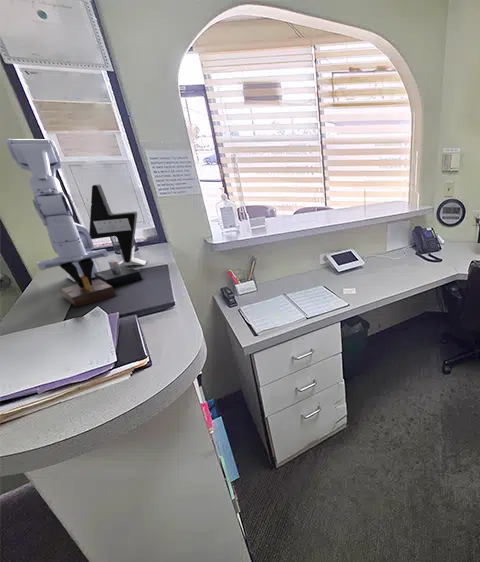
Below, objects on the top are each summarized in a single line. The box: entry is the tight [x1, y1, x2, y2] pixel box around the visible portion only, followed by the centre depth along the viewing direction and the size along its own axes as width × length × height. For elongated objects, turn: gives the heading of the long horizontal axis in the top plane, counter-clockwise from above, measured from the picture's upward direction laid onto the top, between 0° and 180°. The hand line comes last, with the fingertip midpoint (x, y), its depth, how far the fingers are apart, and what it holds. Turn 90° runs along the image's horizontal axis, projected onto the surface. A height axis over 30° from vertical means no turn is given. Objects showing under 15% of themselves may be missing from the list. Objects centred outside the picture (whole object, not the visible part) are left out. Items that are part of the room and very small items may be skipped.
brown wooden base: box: [60, 279, 117, 308], centre depth 91 cm, size 12×9×3 cm
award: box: [88, 183, 147, 267], centre depth 113 cm, size 15×5×30 cm, turn 117°
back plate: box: [94, 265, 143, 288], centre depth 103 cm, size 12×9×3 cm
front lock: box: [79, 274, 91, 290], centre depth 89 cm, size 5×1×4 cm, turn 55°
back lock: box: [108, 260, 121, 274], centre depth 102 cm, size 5×1×4 cm, turn 55°
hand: (85, 286), depth 90 cm, fingers closed on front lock
